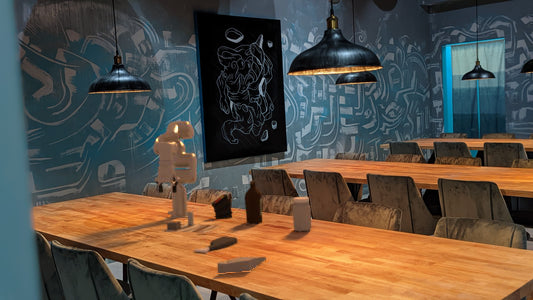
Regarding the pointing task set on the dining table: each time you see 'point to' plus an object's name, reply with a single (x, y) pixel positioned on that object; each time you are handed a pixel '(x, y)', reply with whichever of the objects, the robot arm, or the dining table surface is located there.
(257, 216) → the olive oil
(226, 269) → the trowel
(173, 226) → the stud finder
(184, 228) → the panel
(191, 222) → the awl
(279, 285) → the dining table surface
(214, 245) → the brown brush
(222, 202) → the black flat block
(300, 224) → the jar
